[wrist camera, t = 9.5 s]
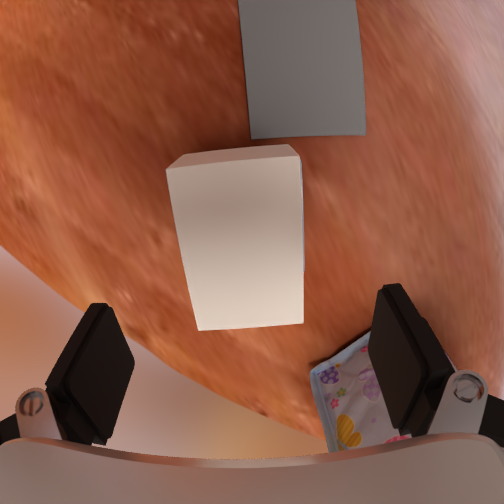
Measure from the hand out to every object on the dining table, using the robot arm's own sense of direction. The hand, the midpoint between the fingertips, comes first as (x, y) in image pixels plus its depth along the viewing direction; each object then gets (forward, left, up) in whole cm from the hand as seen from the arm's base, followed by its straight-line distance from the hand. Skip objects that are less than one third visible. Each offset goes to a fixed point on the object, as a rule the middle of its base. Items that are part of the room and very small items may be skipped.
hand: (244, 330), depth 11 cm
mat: (-10, +5, -16) cm, 20 cm away
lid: (+1, 0, -11) cm, 11 cm away
